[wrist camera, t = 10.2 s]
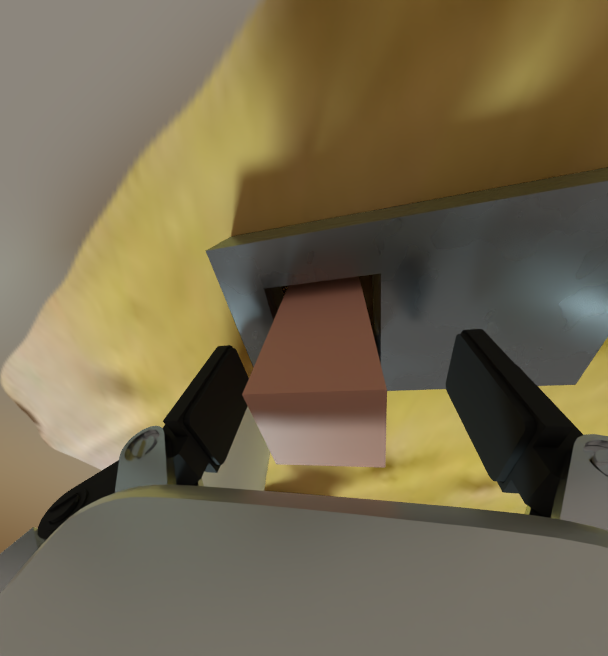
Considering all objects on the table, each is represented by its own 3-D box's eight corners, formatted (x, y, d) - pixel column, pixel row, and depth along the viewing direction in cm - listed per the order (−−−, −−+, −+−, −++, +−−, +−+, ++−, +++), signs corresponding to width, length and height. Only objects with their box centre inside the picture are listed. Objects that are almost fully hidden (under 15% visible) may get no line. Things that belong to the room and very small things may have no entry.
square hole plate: (622, 164, 9) (726, 160, 7) (535, 349, 15) (575, 384, 12) (230, 236, 13) (205, 250, 10) (274, 365, 18) (264, 394, 16)
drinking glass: (234, 377, 20) (62, 720, 7) (298, 411, 21) (247, 738, 9) (207, 413, 23) (61, 685, 11) (264, 439, 25) (194, 701, 12)
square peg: (357, 269, 13) (387, 389, 6) (360, 326, 15) (385, 467, 8) (291, 278, 14) (241, 394, 6) (303, 331, 16) (276, 464, 9)
